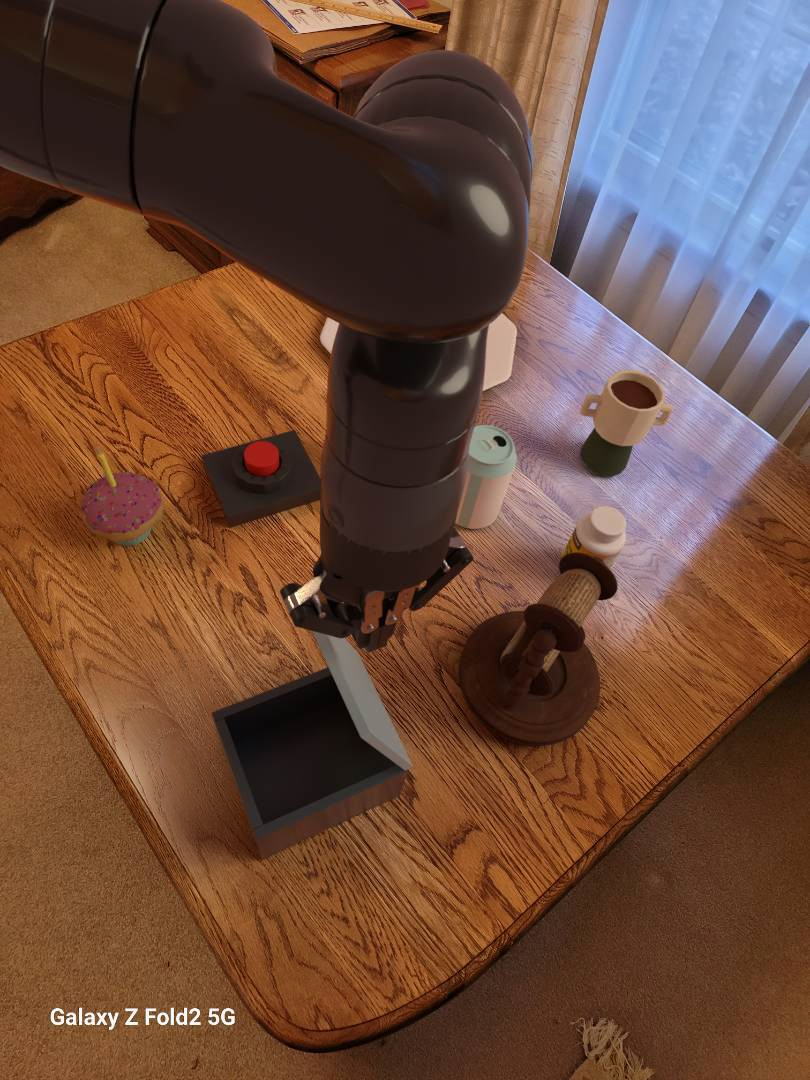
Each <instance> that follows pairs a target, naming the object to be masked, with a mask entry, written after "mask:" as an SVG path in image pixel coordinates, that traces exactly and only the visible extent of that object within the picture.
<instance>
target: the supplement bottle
mask: <svg viewBox="0 0 810 1080" xmlns="http://www.w3.org/2000/svg"><path fill="white" fill-rule="evenodd" d="M626 528H627V520H626V517H625V516H624V514H623V513H622V512H621V511H620V510H618V509H616V508H615V507H612V506H609V505H599V506H597V507H595V508H594V509H592V511H591V512H590V513H589V512H588V513H587V514H584V515H583V516H582V517H581V518H580V519H579V521H577V524H576V526H575V528H574V529H573V531H572V534H571V535H570V537H569V539H568V542H567V543H566V546H565V547H564V549H563V552H562V553H561V555H560V558H559V561H558V563H559V562H560V560H561V559H562V557H563V556H565V555H566V554H569V553H574V552H578V553H584V554H588V555H591V556H596V557H599V558H601V559H602V560H603V561H604V563H605V565H606V566H607V567H608V568H609V569H610V570H611V568H612V566H613V564H614V563H615V561H616V560H617V558H618V556H619V554H620V553H621V551H622V550H623V548H624V546H625V544H626V542H627V533H626Z"/></svg>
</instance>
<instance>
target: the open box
mask: <svg viewBox="0 0 810 1080" xmlns="http://www.w3.org/2000/svg"><path fill="white" fill-rule="evenodd" d="M211 716H212V720H213V723H214V727H215V730H216V734H217V736H218V737H217V738H218V740H219V744H220V747H221V750H222V752H223V755H224V757H225V761H226V763H227V766H228V769H229V772H230V775H231V778H232V780H234V781H233V783H234V786H235V789H236V792H237V795H238V797H240V798H239V800H240V803H241V806H242V809H243V811H244V814H245V818H246V821H247V823H248V825H249V828H250V831H251V834H252V837H253V840H254V843H255V845H257V846H256V849H257V852H258V854H259V857H260V860H261V861H262V860H263V861H265V860H267V859H269V858H271V857H273V856H275V855H277V854H276V853H278V852H280V851H282V850H284V849H286V850H288V849H290V848H292V847H291V846H293V845H295V844H297V843H299V842H301V841H303V840H305V841H307V840H306V839H308V838H309V837H311V836H314V835H316V834H318V833H320V834H322V833H321V832H323V831H325V830H327V829H329V828H331V829H333V828H335V827H337V826H336V825H338V824H340V823H342V824H344V823H346V822H348V821H350V820H352V819H351V818H353V817H355V816H357V815H359V814H361V813H363V814H365V813H367V812H366V811H368V810H370V809H372V808H374V809H376V808H378V807H380V806H382V805H381V804H383V803H385V802H387V801H389V802H391V801H393V800H395V799H397V798H396V797H398V798H400V797H401V794H402V790H403V787H404V784H405V781H406V778H407V775H408V772H409V769H408V770H406V771H405V770H404V769H402V768H401V767H400V766H398V765H397V764H396V763H394V762H393V761H392V760H390V759H389V758H388V757H386V756H385V755H383V754H382V753H381V752H379V751H378V750H377V749H375V748H374V747H373V746H371V745H370V744H369V743H367V742H366V741H365V740H363V739H362V738H361V737H360V735H359V733H358V731H357V728H356V726H355V724H354V722H353V720H352V718H351V715H350V713H349V711H348V709H347V707H346V704H345V702H344V700H343V698H342V696H341V693H340V691H339V689H338V687H337V685H336V682H335V680H334V678H333V676H332V674H331V672H330V669H329V667H328V666H327V667H325V668H322V669H319V670H317V671H314V672H311V673H309V674H307V675H304V676H301V677H299V678H296V679H294V680H291V681H288V682H287V683H284V684H281V685H278V686H276V687H274V688H271V689H269V690H265V691H264V692H261V693H258V694H255V695H253V696H251V697H248V698H245V699H243V700H240V701H237V702H235V703H233V704H230V705H227V706H225V707H223V708H220V709H216V710H215V711H212V712H211ZM399 796H400V797H399ZM394 798H395V799H394ZM392 799H393V800H392ZM390 800H391V801H390ZM387 803H388V802H387ZM385 804H386V803H385ZM379 805H380V806H379ZM383 805H384V804H383ZM377 806H378V807H377ZM375 807H376V808H375ZM372 810H373V809H372ZM370 811H371V810H370ZM364 812H365V813H364ZM368 812H369V811H368ZM361 815H362V814H361ZM359 816H360V815H359ZM357 817H358V816H357ZM355 818H356V817H355ZM349 819H350V820H349ZM353 819H354V818H353ZM347 820H348V821H347ZM345 821H346V822H345ZM343 822H344V823H343ZM340 825H341V824H340ZM334 826H335V827H334ZM338 826H339V825H338ZM332 827H333V828H332ZM329 830H330V829H329ZM327 831H328V830H327ZM325 832H326V831H325ZM323 833H324V832H323ZM318 835H319V834H318ZM316 836H317V835H316ZM314 837H315V836H314ZM308 840H309V839H308ZM303 842H304V841H303ZM301 843H302V842H301ZM299 844H300V843H299ZM297 845H298V844H297ZM295 846H296V845H295ZM289 847H290V848H289ZM293 847H294V846H293ZM287 848H288V849H287ZM284 851H285V850H284ZM282 852H283V851H282ZM280 853H281V852H280ZM274 854H275V855H274ZM278 854H279V853H278ZM272 855H273V856H272ZM270 856H271V857H270ZM268 857H269V858H268ZM266 858H267V859H266ZM264 859H265V860H264Z"/></svg>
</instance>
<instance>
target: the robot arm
mask: <svg viewBox="0 0 810 1080" xmlns="http://www.w3.org/2000/svg"><path fill="white" fill-rule="evenodd" d="M277 63H278V62H277V58H276V54H275V51H274V48H273V44H272V42H271V40H270V39H269V36H268V35H267V34H266V32H265V31H264V29H263V28H262V26H261V25H260V24H259V23H258V22H257V21H256V20H255V19H253V18H252V17H251V16H250V15H248V14H246V13H245V12H243V11H242V10H241V9H239V8H237V7H235V6H233V5H231V4H229V3H227V2H225V1H223V0H0V167H2V168H4V169H7V170H8V171H10V172H13V173H16V174H19V175H22V176H24V177H27V178H29V179H32V180H35V181H38V182H40V183H43V184H46V185H49V186H51V187H54V188H58V189H61V190H64V191H67V192H70V193H72V194H76V195H78V196H81V197H85V198H88V199H91V200H93V201H98V202H100V203H103V204H106V205H109V206H112V207H116V208H118V209H121V210H124V211H128V212H131V213H133V214H137V215H139V216H142V217H147V218H149V219H152V220H154V221H155V220H156V221H160V222H162V223H166V224H168V225H169V224H170V225H174V226H177V227H181V228H183V229H185V230H187V231H189V232H190V233H192V234H194V235H195V236H197V237H198V238H199V239H201V240H203V241H205V243H206V242H207V243H208V244H209V245H210V246H212V247H213V248H215V249H216V250H217V251H219V252H220V253H222V254H223V255H224V256H226V257H228V258H229V259H230V260H232V261H234V262H235V263H237V264H239V265H240V266H241V267H243V268H245V269H246V270H248V271H250V272H252V273H254V275H257V276H259V277H260V278H262V279H263V280H265V281H267V282H269V283H270V284H272V285H273V286H275V287H276V288H278V289H280V290H281V291H283V292H285V293H287V294H288V295H290V296H292V297H293V298H295V299H296V300H298V301H300V302H301V303H303V304H304V305H306V306H308V307H309V308H311V309H313V310H314V311H316V312H318V313H319V314H321V315H323V316H325V317H326V318H327V317H328V318H330V319H332V320H334V321H336V322H338V323H339V326H338V329H337V332H336V336H335V339H334V343H333V347H332V351H331V355H330V357H329V361H328V367H327V383H326V384H327V385H326V386H327V387H326V417H325V418H326V419H325V421H326V422H325V423H326V427H325V436H324V440H323V444H322V450H321V455H320V478H321V480H320V500H319V546H320V548H319V549H320V555H319V557H318V559H317V560H316V561H315V563H314V564H313V567H312V576H313V578H311V579H310V580H308V581H307V582H306V583H305V584H304V585H303V584H299V583H296V582H291V583H287V584H286V585H283V586H282V587H281V588H280V590H279V594H280V596H281V599H282V600H283V603H284V606H285V608H286V611H287V613H288V615H289V616H290V619H291V621H292V624H293V626H294V627H296V628H299V629H303V630H307V631H310V632H312V631H314V632H318V633H322V634H326V635H329V636H333V637H337V638H345V639H346V638H348V637H351V636H352V638H353V640H354V642H355V645H356V647H357V648H358V649H359V650H363V649H365V651H366V653H367V654H369V653H372V652H374V651H377V650H380V649H382V648H385V647H388V640H389V639H391V638H392V637H393V636H394V634H395V631H396V630H395V629H396V625H397V622H399V621H400V620H401V619H402V616H403V613H404V611H405V610H407V609H409V610H410V611H411V612H416V611H418V610H421V609H423V608H424V607H425V606H426V605H427V604H428V603H429V602H430V601H432V599H434V598H435V597H436V596H437V595H438V594H439V593H440V592H441V591H442V590H443V589H444V588H445V587H446V586H448V584H450V583H451V582H452V581H453V580H454V579H455V578H456V577H457V576H458V575H459V574H460V573H461V572H462V571H464V570H465V569H466V568H467V567H468V566H469V565H470V564H471V563H472V562H473V561H474V556H473V554H472V553H471V551H470V549H469V548H468V546H467V544H466V543H465V541H464V539H463V538H462V536H461V535H460V533H459V532H458V530H457V528H455V525H456V523H455V521H456V517H457V513H458V510H459V506H460V502H461V498H462V494H463V490H464V487H465V482H466V477H467V468H468V452H469V446H470V442H471V438H472V434H473V431H474V427H476V422H477V419H478V415H479V412H480V408H481V403H482V397H483V393H484V392H483V386H484V376H485V363H486V346H487V336H488V329H489V324H491V323H492V322H493V321H494V320H495V319H497V318H498V316H499V315H500V314H501V313H504V311H505V310H506V309H507V308H508V306H509V304H511V302H512V301H513V298H514V296H515V295H516V292H517V290H518V288H519V286H520V283H521V279H522V276H523V273H524V270H525V266H526V261H527V255H528V245H529V229H530V228H529V226H530V210H531V209H530V208H531V195H532V184H533V183H532V182H533V169H534V151H533V141H532V136H531V131H530V127H529V123H528V120H527V117H526V114H525V112H524V108H523V106H522V104H521V102H520V100H519V99H518V97H517V95H516V94H515V92H514V90H513V89H512V88H511V86H510V85H509V84H508V82H507V81H506V80H505V79H504V77H503V76H501V75H500V74H499V72H497V71H496V70H495V69H494V68H492V66H490V65H488V64H487V63H486V62H485V61H482V60H480V59H479V58H477V57H476V56H473V55H470V54H468V53H465V52H462V51H461V52H460V51H457V50H450V49H434V50H428V51H423V52H419V53H416V54H413V55H410V56H408V57H405V58H404V59H401V60H400V61H398V62H397V63H394V65H392V66H390V67H389V68H388V69H387V70H385V71H384V72H383V73H382V74H381V75H380V76H378V77H377V79H376V80H375V81H374V82H373V83H372V85H370V87H369V88H368V89H367V91H366V92H365V93H364V94H363V96H362V98H361V99H360V101H359V102H358V105H357V106H356V108H355V110H354V111H353V114H352V116H351V115H350V114H347V113H346V112H343V111H341V110H339V109H337V107H334V106H332V105H330V104H328V103H326V102H325V101H323V100H321V99H319V98H317V97H316V96H314V95H312V94H310V93H309V92H307V91H304V90H303V89H301V88H300V87H298V86H296V85H294V84H292V83H290V82H289V81H287V80H285V79H283V78H281V77H279V72H278V64H277ZM424 582H426V583H425V585H424V586H422V588H419V587H420V586H421V584H423V583H424Z"/></svg>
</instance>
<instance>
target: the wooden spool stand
mask: <svg viewBox="0 0 810 1080" xmlns="http://www.w3.org/2000/svg"><path fill="white" fill-rule="evenodd" d="M559 561H560V562H559ZM559 561H558V571H559V574H560V575H558V576H557V577H556V578H555V579H554V580H553V581H552V582H551V583H550V584H549V585H548V587H547V588H546V589H545V590H544V592H543V593H542V594H541V596H540V597H539V599H538V600H537V602H536V603H535V602H534V603H531V604H529V605H528V606H527V607H526V608H525V609H524V610H511V611H506V612H505V611H504V612H501V613H498V614H496V615H493V616H491V617H488V618H487V619H485V620H484V621H483V622H481V623H480V624H478V625H477V626H476V627H475V628H474V629H473V631H472V632H471V633H470V634H469V636H468V638H467V639H466V641H465V643H464V645H463V648H462V651H461V653H460V657H459V660H458V681H459V686H460V690H461V693H462V696H463V698H464V700H465V702H466V704H467V706H468V707H469V709H470V711H471V713H473V715H474V716H475V717H476V719H478V721H479V722H480V723H482V724H483V726H485V727H486V728H487V729H489V730H490V731H491V732H492V733H494V734H496V735H497V736H499V737H500V738H502V739H505V740H508V741H509V742H512V743H515V744H519V745H524V746H531V747H546V746H551V745H555V744H558V743H561V742H565V741H567V740H568V739H570V738H572V737H573V736H575V735H577V734H578V733H579V732H580V731H581V730H582V729H583V728H584V727H585V725H586V724H588V722H589V721H590V719H591V718H592V716H593V715H594V713H595V711H596V709H597V706H598V704H599V699H600V695H601V679H600V673H599V668H598V665H597V663H596V662H597V661H596V660H595V657H594V656H593V653H592V652H591V650H590V648H589V647H588V645H587V644H586V642H585V641H586V631H585V629H584V627H583V626H582V625H583V623H584V622H585V620H586V619H587V617H588V615H589V614H590V612H591V611H592V609H593V608H594V606H595V605H596V603H597V601H606V600H609V599H612V598H613V597H614V596H616V593H617V591H618V588H619V587H618V585H619V584H618V581H617V578H616V576H615V574H614V572H613V571H612V569H611V568H610V569H609V568H608V567H607V566H606V565H605V563H604V561H603V560H602V559H601V558H599V557H596V556H591V555H588V554H584V553H578V552H574V553H569V554H566V555H565V556H563V557H562V559H561V560H560V559H559Z"/></svg>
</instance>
